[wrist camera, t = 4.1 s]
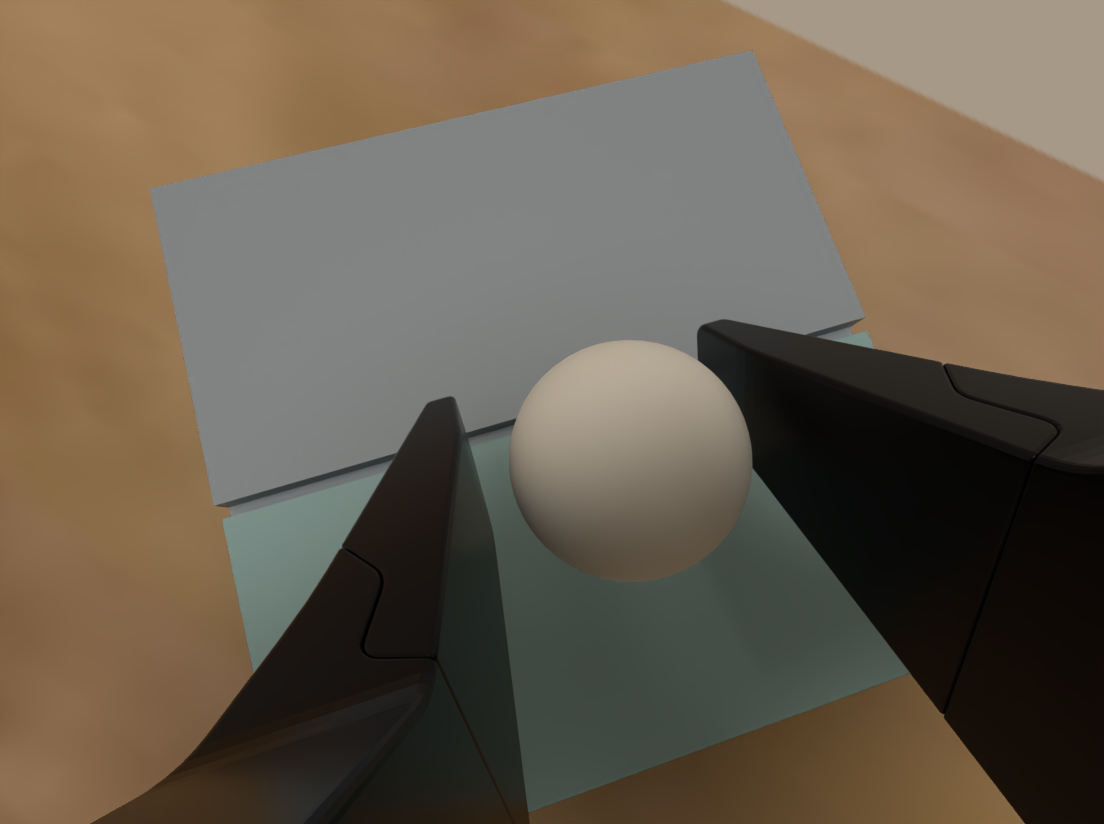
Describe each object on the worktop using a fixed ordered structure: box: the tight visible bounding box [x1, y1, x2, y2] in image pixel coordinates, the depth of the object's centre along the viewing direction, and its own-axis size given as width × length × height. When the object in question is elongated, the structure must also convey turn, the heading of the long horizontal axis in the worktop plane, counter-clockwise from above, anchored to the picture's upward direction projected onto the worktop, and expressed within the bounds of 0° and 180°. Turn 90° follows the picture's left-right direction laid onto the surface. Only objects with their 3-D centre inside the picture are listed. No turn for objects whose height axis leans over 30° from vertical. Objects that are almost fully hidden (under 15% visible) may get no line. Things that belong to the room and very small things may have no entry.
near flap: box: [222, 331, 910, 813], centre depth 9 cm, size 7×14×7 cm, turn 107°
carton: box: [150, 50, 865, 517], centre depth 15 cm, size 14×14×6 cm
